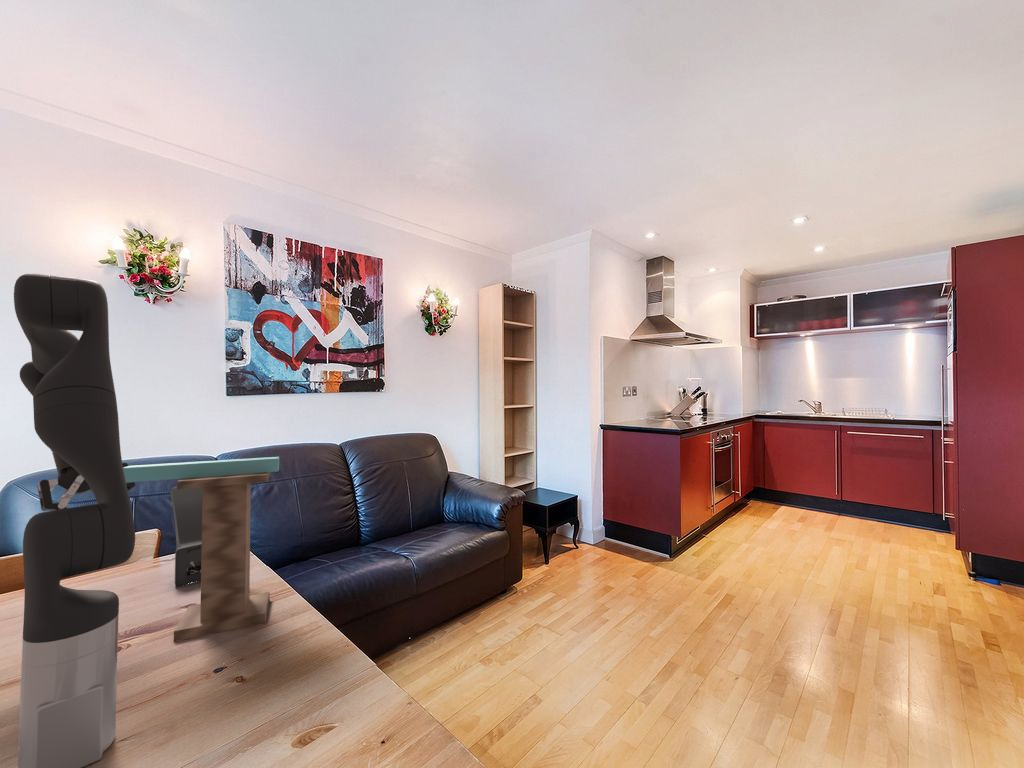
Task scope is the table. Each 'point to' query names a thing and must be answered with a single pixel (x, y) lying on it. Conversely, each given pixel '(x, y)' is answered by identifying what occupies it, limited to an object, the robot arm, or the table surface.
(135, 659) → the table surface
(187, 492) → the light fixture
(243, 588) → the walnut stand
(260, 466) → the teal bar
